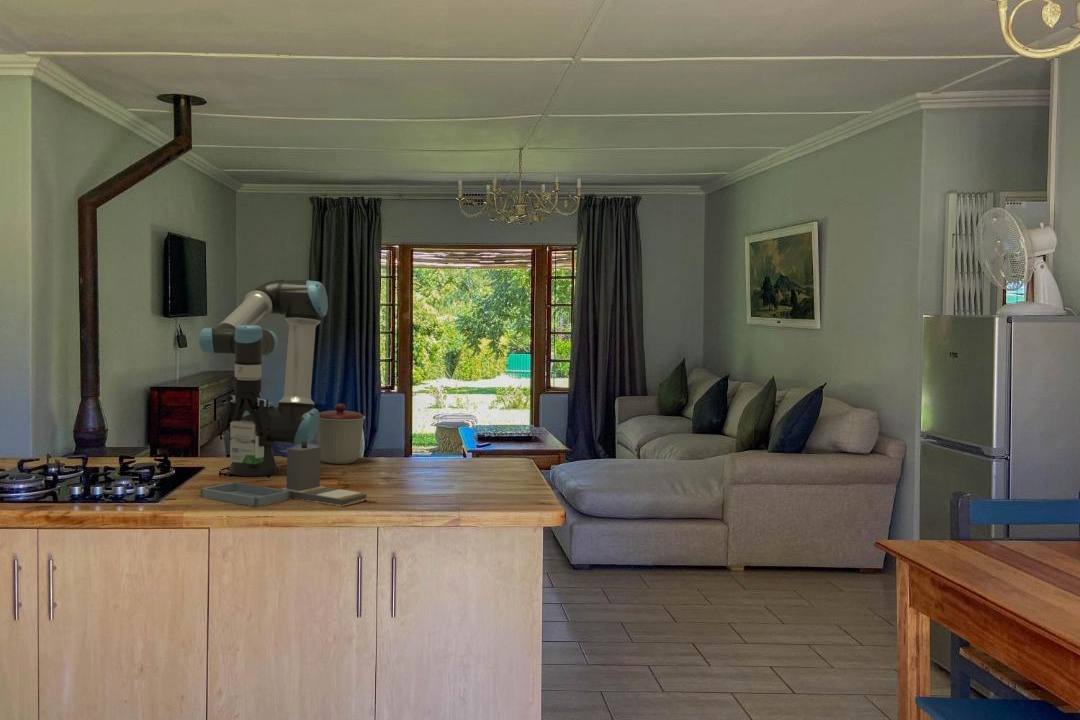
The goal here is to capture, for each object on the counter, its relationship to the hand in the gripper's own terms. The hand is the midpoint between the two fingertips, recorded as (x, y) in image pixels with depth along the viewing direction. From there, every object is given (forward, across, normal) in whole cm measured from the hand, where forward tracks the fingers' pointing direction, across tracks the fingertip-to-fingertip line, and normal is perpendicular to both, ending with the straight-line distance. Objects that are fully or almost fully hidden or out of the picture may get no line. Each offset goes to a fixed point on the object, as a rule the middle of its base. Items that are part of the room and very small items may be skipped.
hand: (247, 455), depth 300 cm
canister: (+15, -21, +66) cm, 71 cm away
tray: (+13, 0, -1) cm, 13 cm away
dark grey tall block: (+10, +10, +13) cm, 20 cm away
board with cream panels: (+13, +17, +13) cm, 25 cm away
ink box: (+2, 0, 0) cm, 2 cm away
